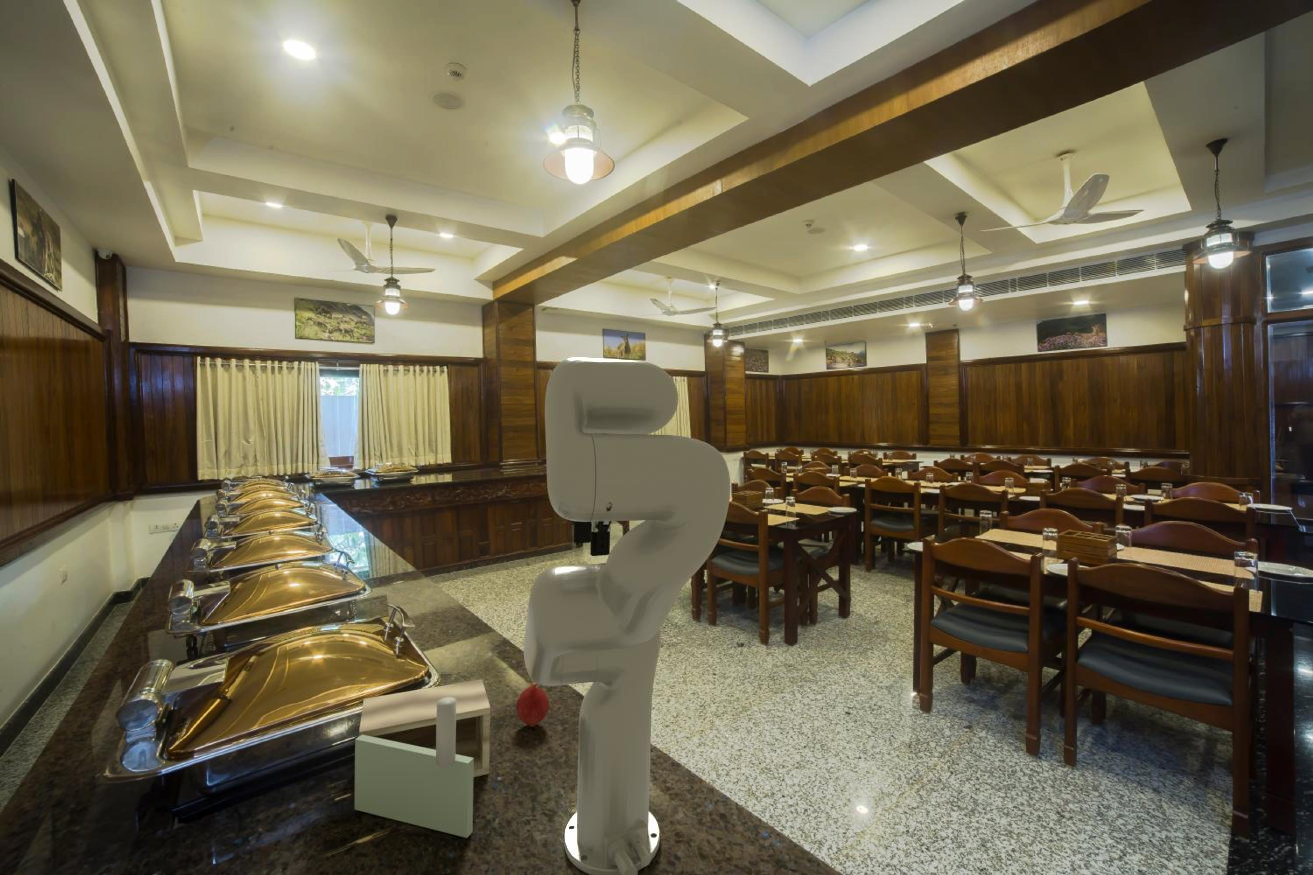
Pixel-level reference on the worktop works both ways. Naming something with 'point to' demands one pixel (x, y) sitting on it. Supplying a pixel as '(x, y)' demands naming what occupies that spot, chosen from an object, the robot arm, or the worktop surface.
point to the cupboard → (433, 719)
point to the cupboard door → (417, 778)
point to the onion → (532, 705)
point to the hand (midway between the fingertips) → (590, 548)
